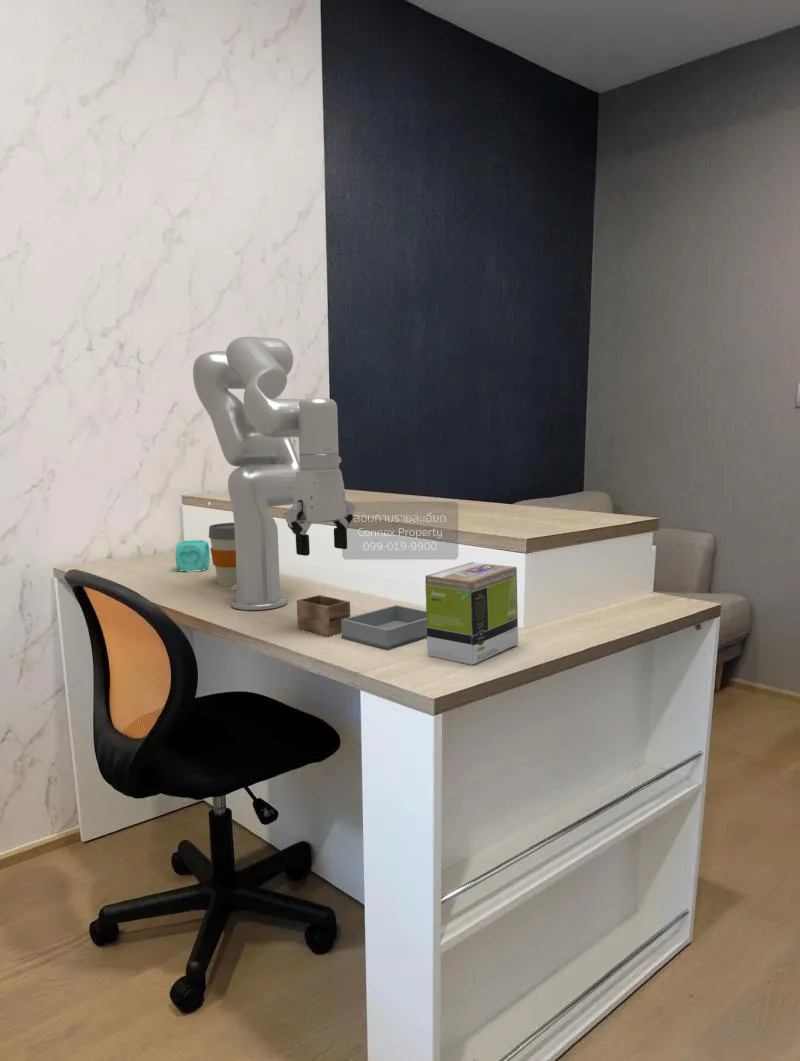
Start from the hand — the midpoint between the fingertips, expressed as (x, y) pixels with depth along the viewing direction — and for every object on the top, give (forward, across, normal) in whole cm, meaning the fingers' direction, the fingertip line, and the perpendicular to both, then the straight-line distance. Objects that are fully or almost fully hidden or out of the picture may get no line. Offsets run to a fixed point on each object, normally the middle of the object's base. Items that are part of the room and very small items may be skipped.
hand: (322, 551), depth 150 cm
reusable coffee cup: (+16, -16, -53) cm, 58 cm away
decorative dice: (+16, -19, -78) cm, 82 cm away
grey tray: (+16, -6, +13) cm, 21 cm away
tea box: (+16, -8, +31) cm, 36 cm away
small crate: (+16, 0, 0) cm, 16 cm away
